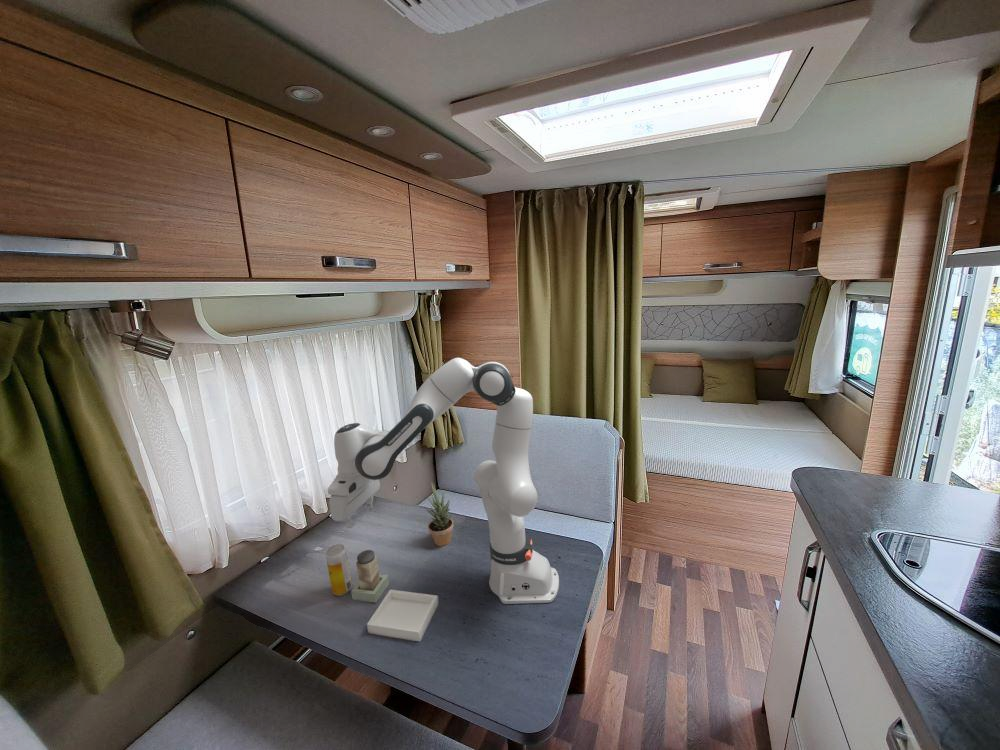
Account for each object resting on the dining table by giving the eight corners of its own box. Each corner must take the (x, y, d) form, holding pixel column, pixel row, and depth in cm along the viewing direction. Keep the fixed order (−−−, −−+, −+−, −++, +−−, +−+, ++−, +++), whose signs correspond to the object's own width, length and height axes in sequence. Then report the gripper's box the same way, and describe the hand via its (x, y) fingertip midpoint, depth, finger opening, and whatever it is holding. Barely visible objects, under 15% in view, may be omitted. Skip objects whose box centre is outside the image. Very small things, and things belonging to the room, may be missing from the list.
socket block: (389, 583, 126) (388, 575, 125) (375, 602, 118) (374, 594, 117) (367, 580, 128) (366, 572, 127) (352, 599, 120) (351, 591, 119)
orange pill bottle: (339, 582, 128) (332, 543, 125) (356, 583, 127) (349, 543, 124) (328, 596, 122) (320, 555, 119) (346, 597, 121) (338, 556, 118)
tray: (438, 604, 116) (437, 595, 115) (420, 641, 103) (419, 632, 103) (391, 597, 120) (390, 589, 119) (368, 633, 107) (366, 624, 107)
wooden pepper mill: (382, 586, 125) (377, 550, 122) (374, 598, 120) (368, 561, 117) (368, 584, 126) (363, 549, 123) (359, 596, 121) (353, 560, 118)
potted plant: (430, 535, 150) (423, 478, 145) (454, 531, 151) (448, 474, 146) (429, 551, 140) (422, 490, 135) (455, 547, 141) (449, 487, 136)
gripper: (365, 461, 126) (370, 499, 128) (323, 492, 106) (330, 536, 109) (382, 462, 124) (386, 501, 127) (342, 493, 105) (349, 538, 108)
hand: (360, 517), depth 118 cm, fingers open, 8 cm apart
